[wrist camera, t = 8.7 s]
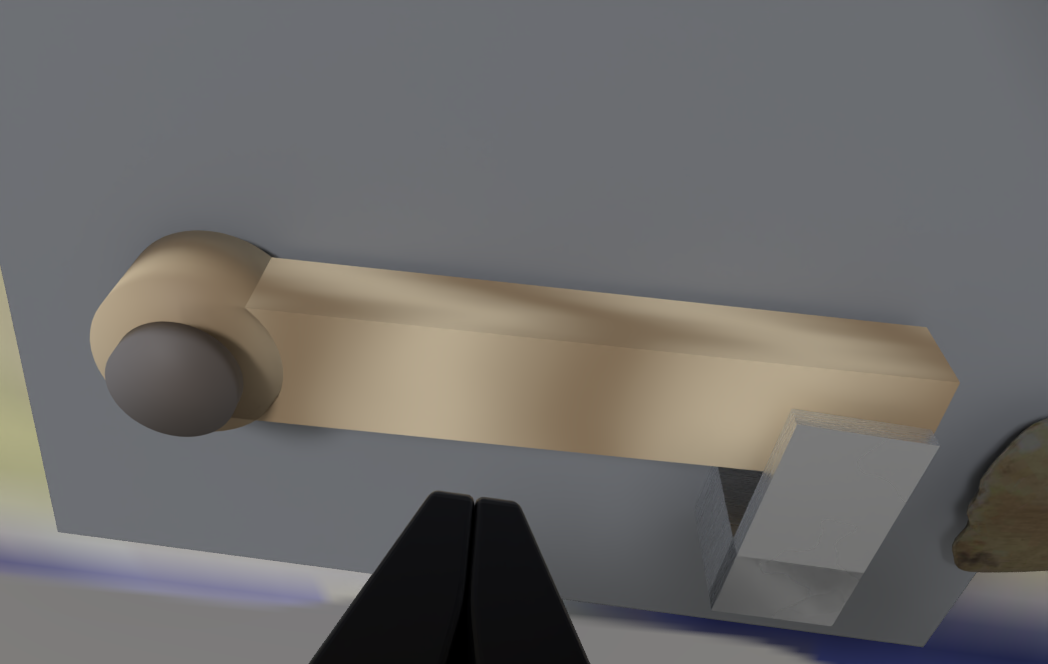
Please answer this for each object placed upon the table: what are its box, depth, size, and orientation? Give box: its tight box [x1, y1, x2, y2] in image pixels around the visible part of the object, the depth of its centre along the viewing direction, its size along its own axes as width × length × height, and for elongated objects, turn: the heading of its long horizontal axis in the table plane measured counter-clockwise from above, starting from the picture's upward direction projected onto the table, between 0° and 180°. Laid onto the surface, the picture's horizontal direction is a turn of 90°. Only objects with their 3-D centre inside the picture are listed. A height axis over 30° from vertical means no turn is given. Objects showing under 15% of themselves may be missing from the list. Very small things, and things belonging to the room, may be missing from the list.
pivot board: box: [0, 0, 1048, 647], centre depth 19 cm, size 25×26×1 cm
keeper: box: [694, 409, 940, 626], centre depth 21 cm, size 6×3×3 cm, turn 171°
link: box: [90, 230, 960, 471], centre depth 19 cm, size 18×4×3 cm, turn 84°
